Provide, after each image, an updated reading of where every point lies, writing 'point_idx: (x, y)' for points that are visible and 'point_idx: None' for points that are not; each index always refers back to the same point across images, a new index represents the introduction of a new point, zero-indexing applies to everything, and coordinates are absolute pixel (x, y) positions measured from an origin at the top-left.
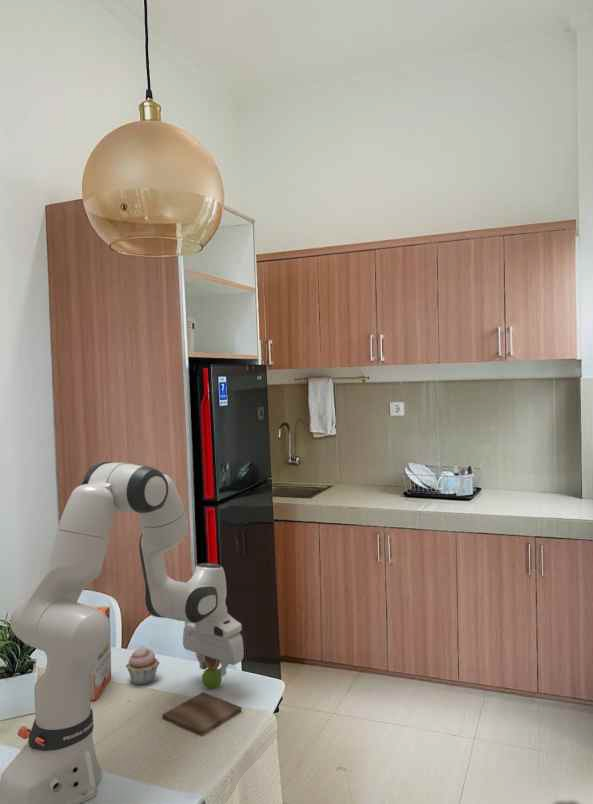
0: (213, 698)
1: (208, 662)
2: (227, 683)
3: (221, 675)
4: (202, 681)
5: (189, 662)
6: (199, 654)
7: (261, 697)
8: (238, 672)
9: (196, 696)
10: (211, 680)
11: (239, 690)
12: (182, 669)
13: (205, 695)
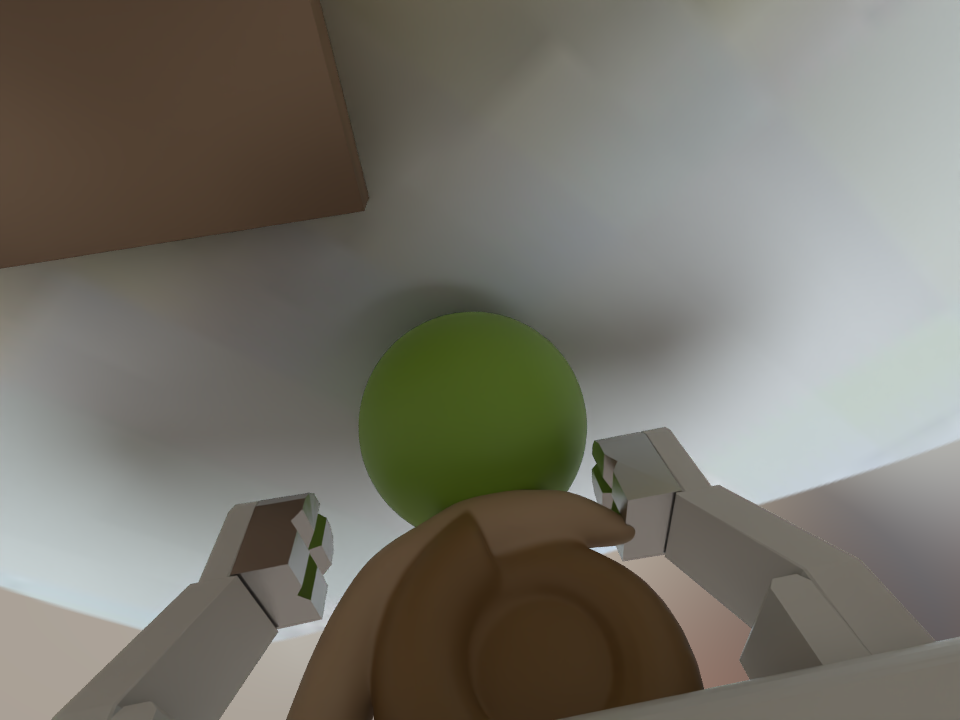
0: (107, 206)
1: (547, 569)
2: None
3: (237, 508)
4: (510, 321)
5: (909, 445)
6: (800, 633)
7: (34, 529)
8: None
9: (302, 63)
10: (379, 385)
11: (258, 478)
12: (911, 361)
13: (252, 179)
